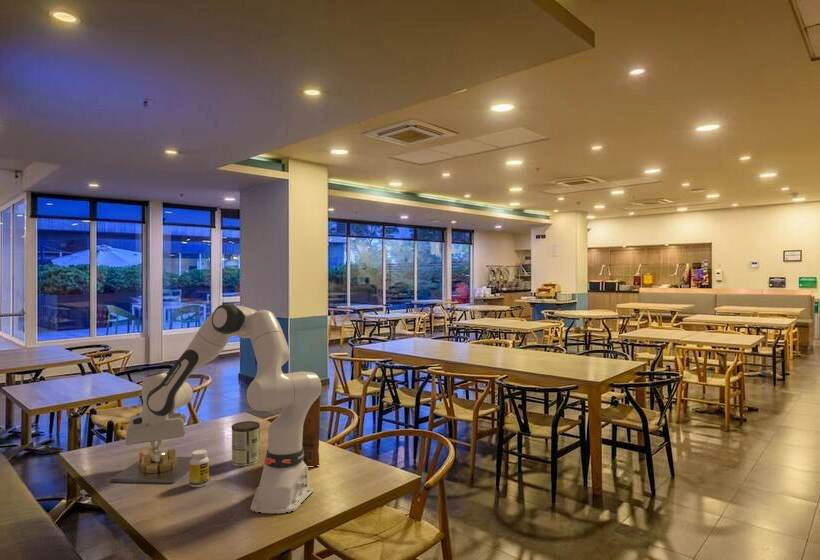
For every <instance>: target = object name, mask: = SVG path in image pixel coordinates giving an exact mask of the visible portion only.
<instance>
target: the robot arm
mask: <svg viewBox="0 0 820 560" xmlns="http://www.w3.org/2000/svg"><path fill="white" fill-rule="evenodd" d="M231 337H236V338H241V339H249V340H250V343H251V346H252V349H253V352H254V355H255V359H256V365H257V371H256V375H255V377H254V379H253V380H252V381H251V382H250V384H249V385H248V386H247V389H246V390H247V391H246V401H247V402H248V405H249V406H250V408H251V409H252V410H254V411H258V412H271V411H272V412H273V411H276V410H280V413H279V414H278V416H276V418H274V420H272V422H270V424H269V426H268V429H267V449H266V453H265V458H264V462H263V463H264V465H263V469H262V473H261V477H260V481H259V485H258V487H257V488H256V489H255V493H254V495H253V499H252V501H251V505H250V508H249V509H250V511H251V510H252V511H251V512H254V511H255V513H258V512H261V513H260V514H275V513H276V514H287V513H286V512H288V513H292V512H291V511H293V512H295V511H296V510H297V509H298V508H300V506H302V504H303V503H304V502H305V501H306V500H307V499H308V498H309V497H310V496H311V495H312V494H313V493H314V492H313V491H314V488H313V487H310V484H309V482H310V481H309V467H308V466H307V465H306V464H305V463H304V461H303V459H304V448H303V447H302V438H303V425H304V421H305V417H306V415H307V412H308V410H309V408H310V407H311V405H312V404H313V402H314V401H315V400H316V399H317V398H318V397H319V395H321V393H322V382H321V379H320V377H319V376H318V374H317V373H315V372H312V371H295V372H288V373H284V372H283V370H282V367H283V366H284V365H285V364H286V363H287V362H288V361H289V358H290V357H291V356H290V355H291V352H290V347H289V345H288V342H287V338H286V337H285V334H284V331H283V329H282V327H281V324H280V322H279V321H278V319H277V317H276V315H275V314H274V313H273V311H270V310H268V309H260V310H258V309H253V308H251V307H247V306H244V305H237V304H233V303H224V304H221V305H218V306H217V307H216V308H215V309H214V311H213V312H211V314H210V315H208V317H206V319H205V320H204V322H203V323H202V324H201V326H200V327H199V329H198V331H197V332H196V334H195V335H194V336H193V338H192V340H191V342H190V343H189V344H188V346H187V348H186V349H185V350H184V351H183V353H182V354H181V355H180V357H179V358H178V359H177V361H176V362H175V363H174V365H173V366H172V367H171V369H170V370H169V372H166V371H157V372H154V373H150V374H148V375H146V376H144V378H143V380H142V383H141V399H142V402H143V403H142V406H141V411H140V412H137V413H135V414H132V415H130V416H129V418H128V425H127V426H126V431H125V437H124V438H125V440H124V443H125V444H126V445H127V446H131V445H137V444H144V443H150V445H151V448H152V447H153V448H155V449H157V450H158V451H159V448H160V447H161V444H162V441H165V440H172V439H179V438H184V437H185V435H186V429H185V428H186V427H185V423H186V421H187V416H186V414H185V413H182V412H177V413H176V412H175V413H172V412H173V411H175V410H177V409H179V408H182V407H184V406H186V405H187V404H189V403H190V402H191V401H192V399H193V397H194V389H193V387H192V385H191V384H190V383H189V382H188V381H187V379H188V378H189V376H191V375H192V373H193V372H194V371H196V370H197V369H199V368H200V367H202V366H204V365H207V364H208V363H211V362H212V361H213V360H215V359H216V358H217V357H218V356H219V355H220V354H221V353H222V351H223V350H224V349H225V347H226V346H227V344H228V342H229V340H230V339H231ZM156 442H157V445H156ZM312 492H313V493H312ZM311 493H312V494H311ZM310 494H311V495H310ZM309 495H310V496H309ZM308 496H309V497H308ZM307 497H308V498H307ZM306 498H307V499H306ZM305 499H306V500H305ZM304 500H305V501H304ZM303 501H304V502H303ZM302 502H303V503H302ZM301 503H302V504H301Z"/></svg>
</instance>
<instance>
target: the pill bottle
mask: <svg viewBox="0 0 820 560" xmlns="http://www.w3.org/2000/svg"><path fill="white" fill-rule="evenodd" d="M191 457H193V458H192V459H191V460H190V469H189V471H188V473H189V476H188V477H189V478H188V479H189V480H188V481H189V483H188V484H189V486H190V487H192V488H201V487H204V486H207V485H208V484H209V481H210V459H209V457H208V451H207V450H206V449H197V450H194V451H192V452H191Z"/></svg>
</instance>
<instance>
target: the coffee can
mask: <svg viewBox="0 0 820 560" xmlns="http://www.w3.org/2000/svg"><path fill="white" fill-rule="evenodd" d="M260 425H261V423H260V422H258V421H254V420H253V421H251V420H250V421H249V420H246V421H240V422H236V423H234V424H232V425H231V464H232V465H233V466H237V467H246V466H247V465H248V466H253V465H255V464H257V463H259V462H258V461H260V459H261V458H260ZM252 464H253V465H252ZM248 466H247V467H248Z"/></svg>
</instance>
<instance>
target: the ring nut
mask: <svg viewBox="0 0 820 560" xmlns="http://www.w3.org/2000/svg"><path fill="white" fill-rule="evenodd" d="M166 450H167V451H166V452H167V453H166V454H164V455H160V463H158V464H152V453H153V452H156V451H159V449H158V450H157V449H155V448H153V447H152V446H151V447H149V448H147V454H144V456H142V461H141V462H140V471H142V472H144V473H158V472H160V473H161V472H165V471H168V470H171V469H173V468H175V467H176V466H177V457H178V456H177V455H176V448H173V447H172V448H169V449H166Z"/></svg>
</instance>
